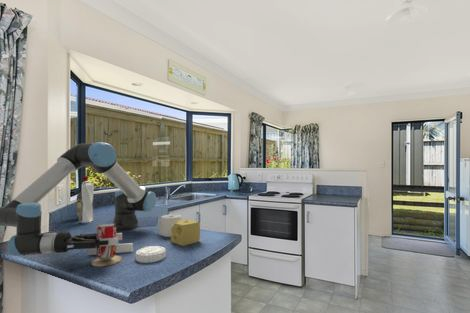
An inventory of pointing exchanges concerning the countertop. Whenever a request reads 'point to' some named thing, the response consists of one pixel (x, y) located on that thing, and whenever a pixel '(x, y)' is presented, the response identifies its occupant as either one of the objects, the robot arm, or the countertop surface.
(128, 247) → the divider
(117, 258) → the coaster
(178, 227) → the cheese
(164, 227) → the toilet tissue
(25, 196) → the robot arm
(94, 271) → the countertop surface
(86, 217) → the white bottle
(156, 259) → the mooncake
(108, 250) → the soda can
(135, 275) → the countertop surface
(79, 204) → the liquor
